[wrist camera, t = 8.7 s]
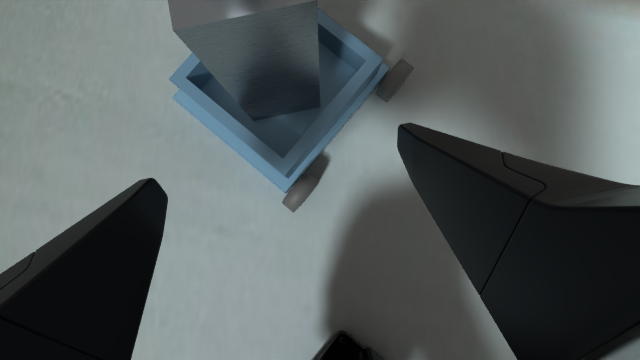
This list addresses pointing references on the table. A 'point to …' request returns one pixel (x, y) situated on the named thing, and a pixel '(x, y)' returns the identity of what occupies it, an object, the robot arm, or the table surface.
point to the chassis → (295, 128)
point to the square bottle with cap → (256, 50)
